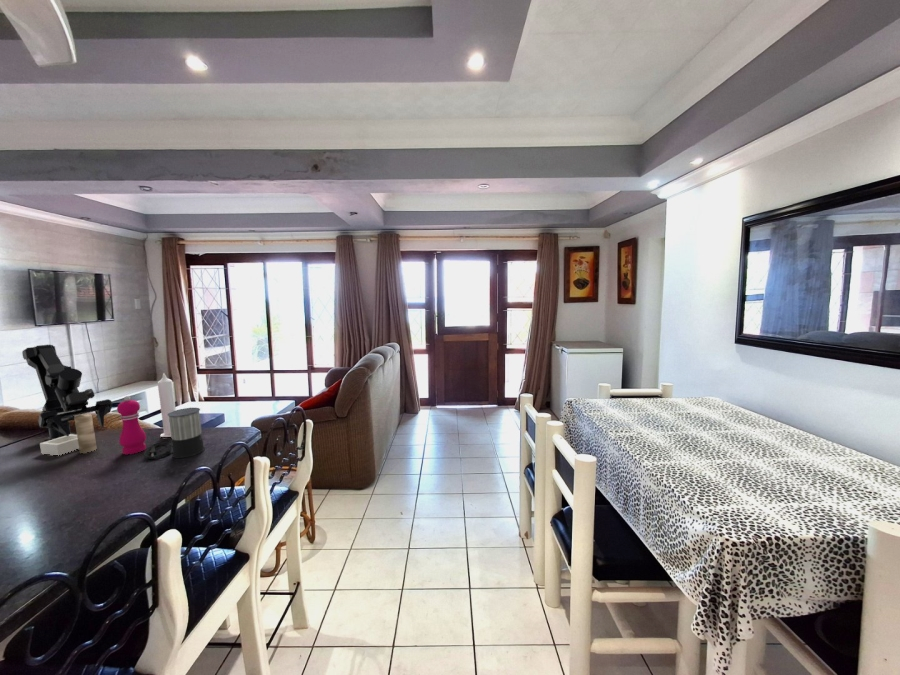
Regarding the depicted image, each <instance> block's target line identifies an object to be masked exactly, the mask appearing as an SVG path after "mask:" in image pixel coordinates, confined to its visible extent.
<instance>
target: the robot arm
mask: <svg viewBox="0 0 900 675" xmlns="http://www.w3.org/2000/svg"><path fill="white" fill-rule="evenodd" d="M22 358H23V360H25V361H26V363H27V365H28V366H29V367H31V368H32V369H34V370H35V371H36V376H37V378H38V381H39V384H40V387H41V390H42V393H43V396H44V399H45V403H44V405H43V407H42V411H41V413H40V414H39V415H38V421H37V422H38V425H39V427H40V429H43V428H46V429H48V433H49V436H48V437H45V438H44V440H46V441H49V440H53V439H56V438H59V437H63V436H69V434H74V435H77V432H76V433H75V432H71V426H70V421H75V419H74V417H76V416H79V415H84V414H91V413H95V416H96V419H97V422H98V424H99V426H100V427H101V428H104V425H105V424H104V423H105V416H107V414H109V413H111V410H112V407H113V405H114V404H113V401H112V400H110V399H103V400H97V401H95V405H92V406H88V405H89V399H93V398H95V391H94V390H93V388H88V389H87V388H86V389H85V390H83V391H79V388H80V385H81V381H82V380H81V379H82V376H83V372H82V371H80V369H77V368H72V366H68V365H64V364H63V363H62V361H61V359H60V357H59V356H58V355H57V348H56V346H55V345H53V344H41V345H36V346H32V347H26V348H25V349H23V350H22Z"/></svg>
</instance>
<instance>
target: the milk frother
mask: <svg viewBox="0 0 900 675" xmlns="http://www.w3.org/2000/svg"><path fill="white" fill-rule="evenodd" d="M200 411H201V408H199V407H184V408H180V409H176V411H173V412H170V413H168V416H169V422H170V429H171V443H169V442H166V441H164V442H163V441H162V442H160V441H159V442H157V443H154V444H151V445H150V446H149V447H148V448H146V449H145V450H144V452H143V456H144V457H145V458H146V459H151V460H152V459H159V458H163V457H165V456H167V455H168V454H170V452H171V451H172V455H171V456H172V457H173V458H176V459H182V458H188V457H189V458H190V457H193V456H196V455H198V454H200V453H202V452H204V451H205V446H204V445H205V444H204V441H203V440H204V439H203V432H202V423H201V415H200ZM159 447H165V448H166V450H165V451H163V452H161V453H158V452H157V448H159ZM157 453H158V454H157Z"/></svg>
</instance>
